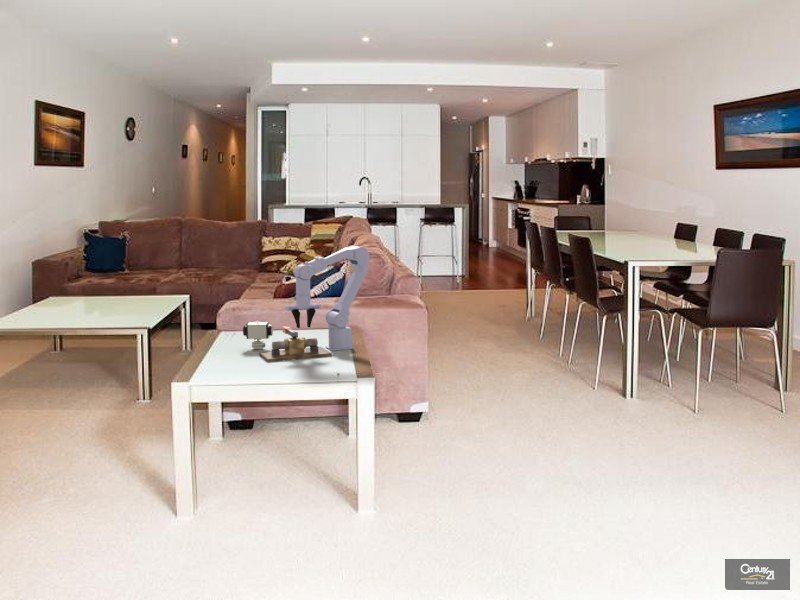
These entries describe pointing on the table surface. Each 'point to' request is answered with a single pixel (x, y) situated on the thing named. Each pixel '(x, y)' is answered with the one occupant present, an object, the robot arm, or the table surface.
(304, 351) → the ball valve
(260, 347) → the pneumatic valve
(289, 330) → the valve lever
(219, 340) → the table surface
